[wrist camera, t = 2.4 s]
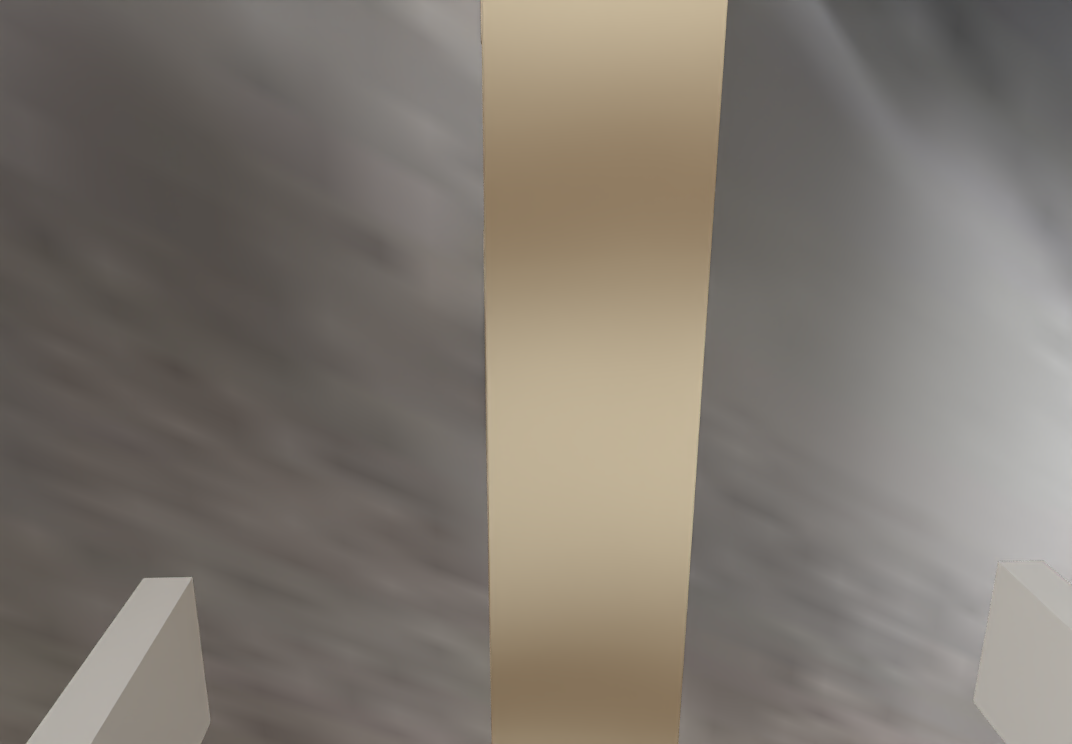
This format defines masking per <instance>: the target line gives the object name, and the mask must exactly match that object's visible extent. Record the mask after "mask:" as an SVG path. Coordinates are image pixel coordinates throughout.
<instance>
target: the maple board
mask: <svg viewBox="0 0 1072 744" xmlns="http://www.w3.org/2000/svg"><path fill="white" fill-rule="evenodd" d="M480 3H481V44H482V96H483V177H484V230H483V238H484V317H485V396H486V459H487V510H488V576H489V629H490V682H491V735H492V744H678V738H679V723H680V708H681V693H682V678H683V663H684V648H685V633H686V618H687V603H688V588H689V573H690V558H691V543H692V528H693V513H694V498H695V483H696V468H697V453H698V438H699V423H700V408H701V393H702V378H703V363H704V348H705V333H706V319H707V304H708V289H709V274H710V259H711V244H712V229H713V214H714V199H715V184H716V169H717V154H718V139H719V124H720V109H721V94H722V79H723V64H724V49H725V34H726V19H727V4H728V0H480Z"/></svg>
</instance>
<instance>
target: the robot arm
mask: <svg viewBox="0 0 1072 744" xmlns="http://www.w3.org/2000/svg"><path fill="white" fill-rule="evenodd" d="M973 702H974V704H975V705H976V706H977V707H978V709H979V710H980V711H981V713H982V714H983V715H984V716H985V718H986V719H987V720H988V722H989V723H990V724H991V725H992V727H993V728H994V729H995V731H996V732H997V733H998V734H999V736H1000V737H1001V738H1002V739H1003V741H1004V742H1005V743H1006V744H1072V585H1071V584H1070V583H1069V582H1068V581H1066V580H1065V579H1064V578H1063V577H1062V576H1061V575H1059V574H1058V573H1057V572H1056V571H1055V570H1054V569H1052V568H1051V567H1050V566H1049V565H1048V564H1047V563H1046V562H1044V561H998V565H997V571H996V576H995V582H994V587H993V593H992V598H991V604H990V610H989V615H988V621H987V626H986V632H985V637H984V643H983V648H982V654H981V659H980V665H979V671H978V676H977V682H976V687H975V693H974V698H973ZM210 723H211V720H210V712H209V704H208V696H207V688H206V680H205V672H204V664H203V656H202V648H201V640H200V632H199V624H198V616H197V608H196V600H195V592H194V584H193V577H168V578H143V579H142V581H141V582H140V584H139V585H138V586H137V588H136V589H135V591H134V592H133V594H132V595H131V596H130V598H129V599H128V601H127V602H126V603H125V605H124V606H123V608H122V609H121V610H120V612H119V613H118V615H117V616H116V617H115V619H114V620H113V622H112V623H111V625H110V626H109V627H108V629H107V630H106V632H105V633H104V634H103V636H102V637H101V639H100V640H99V641H98V643H97V644H96V646H95V647H94V649H93V650H92V651H91V653H90V654H89V656H88V657H87V658H86V660H85V661H84V663H83V664H82V665H81V667H80V668H79V670H78V671H77V672H76V674H75V675H74V677H73V678H72V680H71V681H70V682H69V684H68V685H67V687H66V688H65V689H64V691H63V692H62V694H61V695H60V696H59V698H58V699H57V701H56V702H55V704H54V705H53V706H52V708H51V709H50V711H49V712H48V713H47V715H46V716H45V718H44V719H43V720H42V722H41V723H40V725H39V726H38V727H37V729H36V730H35V732H34V733H33V735H32V736H31V737H30V739H29V740H28V742H27V743H26V744H201V743H202V741H203V738H204V736H205V734H206V732H207V729H208V727H209V725H210Z"/></svg>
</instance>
